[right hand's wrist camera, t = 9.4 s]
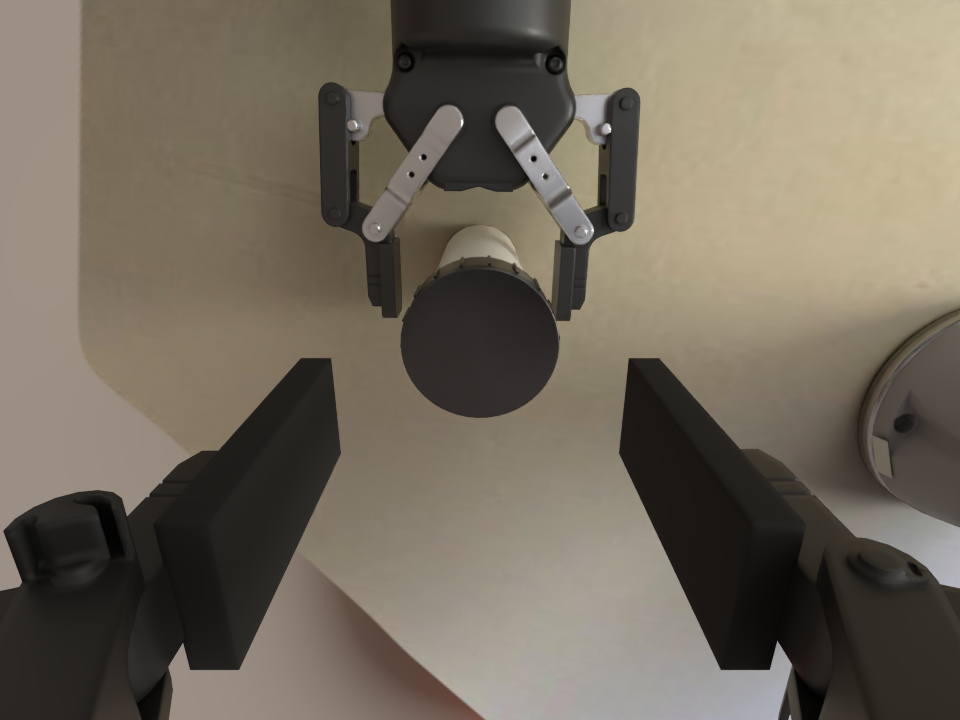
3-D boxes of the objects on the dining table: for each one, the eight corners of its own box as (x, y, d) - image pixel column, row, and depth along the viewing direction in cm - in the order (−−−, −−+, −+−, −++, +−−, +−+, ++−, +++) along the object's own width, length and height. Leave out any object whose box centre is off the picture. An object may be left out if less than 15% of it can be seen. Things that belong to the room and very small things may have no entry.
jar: (503, 307, 34) (521, 415, 20) (434, 286, 34) (400, 382, 19) (526, 237, 33) (563, 300, 18) (454, 214, 32) (433, 261, 18)
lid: (526, 410, 22) (531, 436, 20) (391, 372, 21) (381, 395, 19) (574, 280, 20) (585, 294, 18) (427, 235, 19) (421, 244, 17)
